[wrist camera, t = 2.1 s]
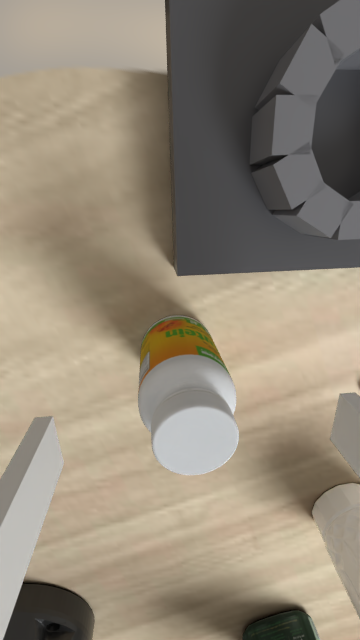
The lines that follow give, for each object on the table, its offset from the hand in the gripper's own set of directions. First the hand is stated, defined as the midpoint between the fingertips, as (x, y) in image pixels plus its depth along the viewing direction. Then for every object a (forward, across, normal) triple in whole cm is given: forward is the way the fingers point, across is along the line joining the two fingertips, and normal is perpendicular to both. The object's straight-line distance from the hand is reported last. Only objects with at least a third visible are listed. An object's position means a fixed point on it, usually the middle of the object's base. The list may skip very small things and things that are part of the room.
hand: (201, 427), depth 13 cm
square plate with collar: (+9, -8, -13) cm, 18 cm away
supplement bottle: (+9, 0, 0) cm, 9 cm away
